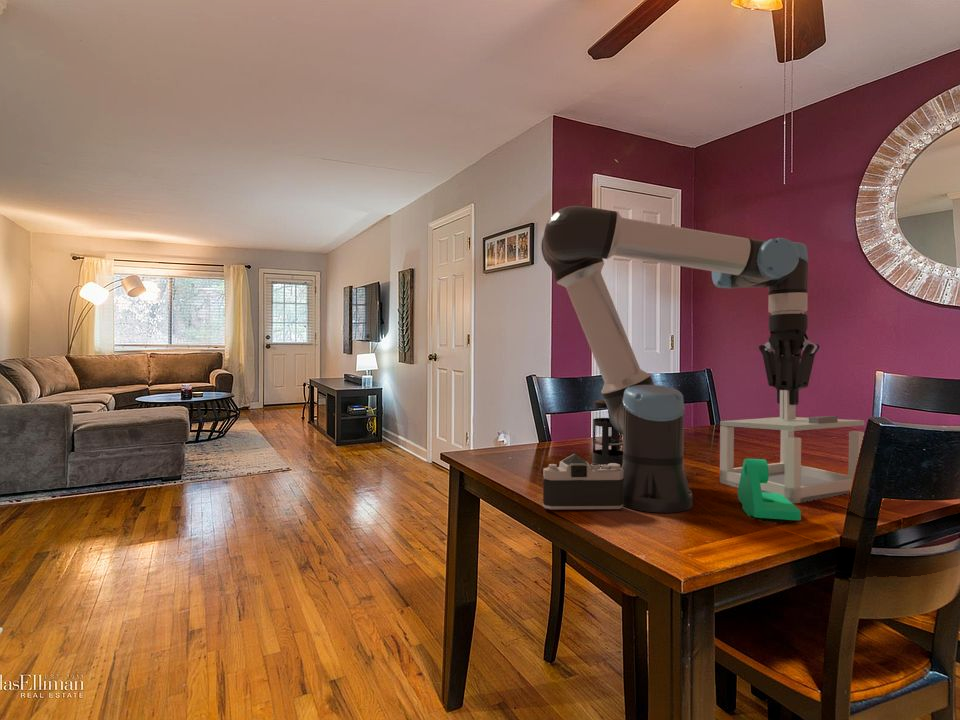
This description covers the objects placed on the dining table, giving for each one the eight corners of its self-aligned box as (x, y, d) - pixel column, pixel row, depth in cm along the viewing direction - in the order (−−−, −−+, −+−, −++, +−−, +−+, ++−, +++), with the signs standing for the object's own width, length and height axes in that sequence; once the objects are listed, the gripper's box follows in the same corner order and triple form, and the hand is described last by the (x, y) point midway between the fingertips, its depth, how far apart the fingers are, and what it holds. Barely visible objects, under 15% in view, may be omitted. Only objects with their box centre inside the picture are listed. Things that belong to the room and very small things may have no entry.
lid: (794, 430, 102) (793, 419, 102) (720, 425, 119) (719, 415, 119) (864, 425, 111) (864, 414, 111) (786, 420, 127) (785, 411, 127)
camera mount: (802, 526, 90) (803, 468, 89) (754, 523, 91) (755, 465, 91) (780, 506, 101) (780, 454, 101) (737, 503, 103) (738, 452, 103)
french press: (622, 470, 130) (623, 380, 130) (586, 466, 135) (586, 378, 135) (633, 462, 141) (634, 378, 140) (599, 458, 145) (600, 377, 145)
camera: (614, 497, 107) (615, 449, 107) (628, 510, 99) (628, 458, 98) (538, 497, 107) (538, 449, 106) (545, 510, 98) (545, 458, 98)
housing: (793, 503, 102) (794, 438, 102) (719, 482, 119) (720, 426, 119) (863, 492, 111) (864, 432, 111) (785, 474, 128) (786, 421, 127)
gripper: (829, 311, 110) (828, 421, 111) (772, 316, 123) (772, 415, 123) (805, 310, 108) (805, 423, 108) (749, 315, 120) (749, 416, 120)
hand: (787, 419), depth 115 cm, fingers closed
